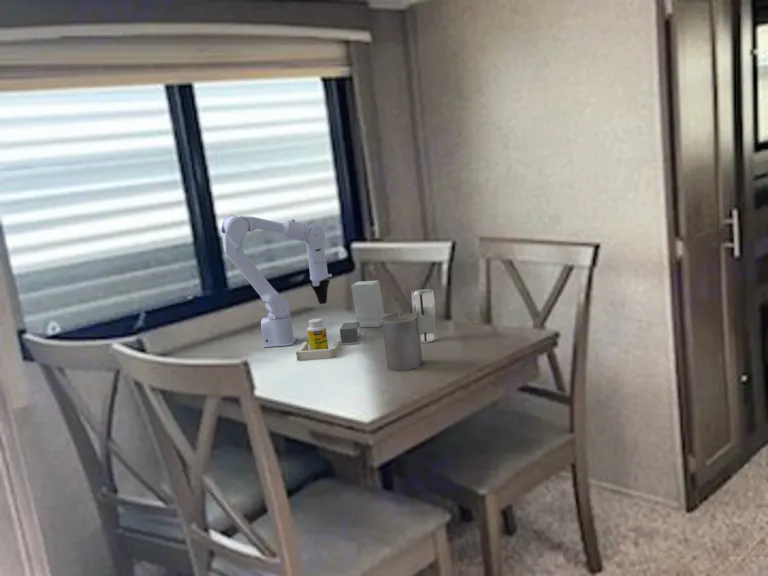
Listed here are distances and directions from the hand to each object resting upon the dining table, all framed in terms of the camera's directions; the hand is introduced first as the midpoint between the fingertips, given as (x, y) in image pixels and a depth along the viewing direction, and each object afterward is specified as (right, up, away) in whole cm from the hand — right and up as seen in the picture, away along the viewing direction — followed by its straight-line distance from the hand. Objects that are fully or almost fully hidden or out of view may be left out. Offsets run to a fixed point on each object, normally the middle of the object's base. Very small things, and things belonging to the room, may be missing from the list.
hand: (323, 303), depth 252 cm
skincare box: (+15, -8, +7) cm, 19 cm away
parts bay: (+1, -15, -20) cm, 25 cm away
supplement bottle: (+1, -15, -20) cm, 24 cm away
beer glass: (+33, -11, -19) cm, 39 cm away
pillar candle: (+26, -16, -41) cm, 51 cm away
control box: (+10, -12, -10) cm, 18 cm away
